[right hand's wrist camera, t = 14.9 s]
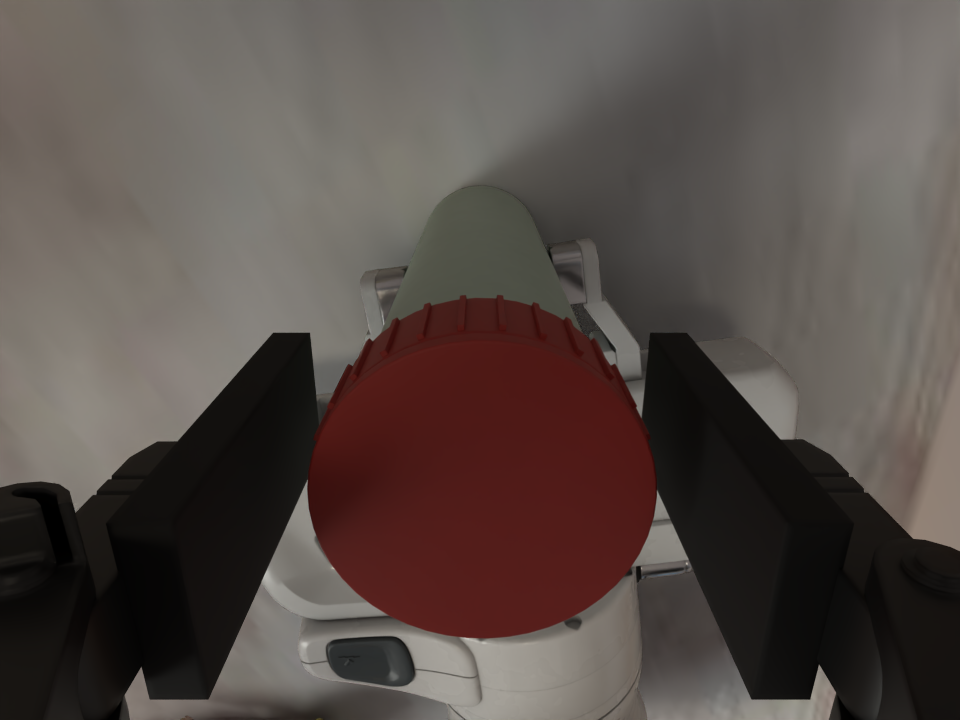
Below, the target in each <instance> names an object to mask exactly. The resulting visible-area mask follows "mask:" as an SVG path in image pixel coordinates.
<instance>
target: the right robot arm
mask: <svg viewBox="0 0 960 720" xmlns="http://www.w3.org/2000/svg"><path fill="white" fill-rule="evenodd" d="M642 420H643V422H644V424H645V426H646V428H647V430H648V432H649V434H650V438H651V439H650V440H648V442H649V445H650V448H651V451H652V454H653V457H654V463H655V469H656V475H657V491H658V493H659V495H660V498H661V500H662V502H663V504H664V507H665V509H666V511H667V513H668V515H669V518H670V520H671V522H672V524H673V526H674V529H675V531H676V533H677V535H678V538H679V540H680V542H681V544H682V546H683V549H684V551H685V553H686V555H687V557H688V560H689V562H690V564H691V566H692V569H693V571H694V573H695V575H696V577H697V580H698V582H699V584H700V586H701V588H702V591H703V593H704V595H705V597H706V600H707V602H708V604H709V606H710V608H711V611H712V613H713V615H714V617H715V619H716V622H717V624H718V626H719V628H720V631H721V633H722V635H723V637H724V639H725V642H726V644H727V646H728V648H729V650H730V653H731V655H732V657H733V659H734V662H735V664H736V666H737V668H738V670H739V673H740V675H741V677H742V679H743V681H744V684H745V686H746V688H747V690H748V693H749V695H750V697H751V699H810V698H811V694H812V690H813V686H814V682H815V678H816V674H817V670H818V666H819V665H820V666H821V668H822V670H823V671H824V673H825V675H826V676H827V678H828V680H829V681H830V683H831V685H832V686H833V688H834V690H835V691H836V695H835V699H834V703H833V706H832V710H831V714H830V718H829V720H960V551H958V550H956V549H953V548H951V547H948V546H945V545H941V544H937V543H934V542H930V541H927V540H919V539H913V538H912V537H911V536H910V535H909V534H908V533H907V532H906V531H905V530H904V529H903V528H902V527H901V526H900V525H899V524H898V523H897V522H896V521H895V520H894V519H893V518H892V517H891V516H890V515H889V514H888V513H887V512H886V511H885V510H884V509H883V508H882V507H881V506H880V505H879V504H878V503H877V502H876V501H875V500H874V499H873V498H872V497H871V496H870V494H869V493H864V488H863V487H862V486H861V485H860V484H859V483H858V482H857V481H856V480H855V479H854V478H853V477H849V473H848V472H847V471H846V470H845V469H844V468H843V467H842V466H841V465H840V464H839V463H838V462H837V461H836V460H835V459H834V458H833V457H832V456H831V455H830V454H828V453H826V452H824V451H823V450H821V449H819V448H817V447H816V446H814V445H812V444H810V443H808V442H807V441H805V440H803V439H780V438H779V437H778V436H777V435H776V434H775V433H774V431H773V430H772V429H771V428H770V427H769V426H768V425H767V423H766V422H765V421H764V420H763V419H762V418H761V417H760V415H759V414H758V413H757V412H756V411H755V410H754V409H753V408H752V406H751V405H750V404H749V403H748V402H747V401H746V400H745V398H744V397H743V396H742V395H741V394H740V393H739V392H738V391H737V389H736V388H735V387H734V386H733V385H732V384H731V383H730V381H729V380H728V379H727V378H726V377H725V376H724V375H723V373H722V372H721V371H720V370H719V369H718V368H717V367H716V366H715V364H714V363H713V362H712V361H711V360H710V359H709V358H708V356H707V355H706V354H705V353H704V352H703V351H702V350H701V348H700V347H699V346H698V345H697V344H696V343H695V342H694V341H693V339H692V338H691V337H690V336H689V335H688V334H687V333H650V339H649V349H648V359H647V368H646V378H645V388H644V398H643V408H642ZM318 427H319V418H318V408H317V398H316V388H315V378H314V369H313V359H312V349H311V339H310V333H273V334H272V335H271V336H270V337H269V338H268V339H267V341H266V342H265V343H264V344H263V345H262V346H261V347H260V348H259V350H258V351H257V352H256V353H255V354H254V355H253V356H252V358H251V359H250V360H249V361H248V362H247V363H246V364H245V365H244V367H243V368H242V369H241V370H240V371H239V372H238V373H237V375H236V376H235V377H234V378H233V379H232V380H231V381H230V383H229V384H228V385H227V386H226V387H225V388H224V389H223V390H222V392H221V393H220V394H219V395H218V396H217V397H216V398H215V400H214V401H213V402H212V403H211V404H210V405H209V406H208V408H207V409H206V410H205V411H204V412H203V413H202V414H201V415H200V417H199V418H198V419H197V420H196V421H195V422H194V423H193V425H192V426H191V427H190V428H189V429H188V430H187V431H186V433H185V434H184V435H183V436H182V437H181V438H180V439H179V440H178V442H156V443H154V444H152V445H151V446H149V447H147V448H145V449H144V450H142V451H140V452H138V453H136V454H135V455H133V456H131V457H130V458H129V459H128V460H127V461H126V462H125V463H124V464H123V465H122V466H121V467H120V468H119V469H118V470H117V471H116V472H115V473H114V474H113V475H112V479H108V480H107V481H106V482H105V483H104V484H103V485H102V486H101V487H100V488H99V489H98V490H97V495H93V496H92V497H91V498H90V499H89V500H88V501H87V502H86V503H85V504H84V505H83V506H82V507H81V508H80V509H79V510H78V511H77V512H76V513H75V510H74V506H73V503H72V499H71V495H70V491H68V490H67V489H65V488H64V487H63V486H61V485H60V484H54V483H48V482H29V483H17V484H13V485H9V486H5V487H1V488H0V720H130V718H129V711H128V706H127V703H126V699H125V693H126V692H127V690H128V688H129V687H130V685H131V683H132V681H133V680H134V678H135V676H136V675H137V673H138V671H139V670H140V668H141V666H142V670H143V674H144V678H145V682H146V686H147V690H148V694H149V698H150V699H209V697H210V695H211V693H212V690H213V688H214V686H215V684H216V681H217V679H218V677H219V675H220V673H221V670H222V668H223V666H224V664H225V662H226V659H227V657H228V655H229V653H230V650H231V648H232V646H233V644H234V642H235V639H236V637H237V635H238V633H239V631H240V628H241V626H242V624H243V622H244V619H245V617H246V615H247V613H248V611H249V608H250V606H251V604H252V602H253V600H254V597H255V595H256V593H257V591H258V588H259V586H260V584H261V582H262V580H263V577H264V575H265V573H266V571H267V569H268V566H269V564H270V562H271V560H272V557H273V555H274V553H275V551H276V549H277V546H278V544H279V542H280V540H281V538H282V535H283V533H284V531H285V529H286V526H287V524H288V522H289V520H290V518H291V515H292V513H293V511H294V509H295V507H296V504H297V502H298V500H299V498H300V495H301V493H302V491H303V489H304V487H305V484H306V482H307V480H308V470H309V466H310V461H311V457H312V453H313V449H314V447H315V444H316V442H317V441H315V440H313V439H314V435H315V433H316V431H317V429H318Z"/></svg>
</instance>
